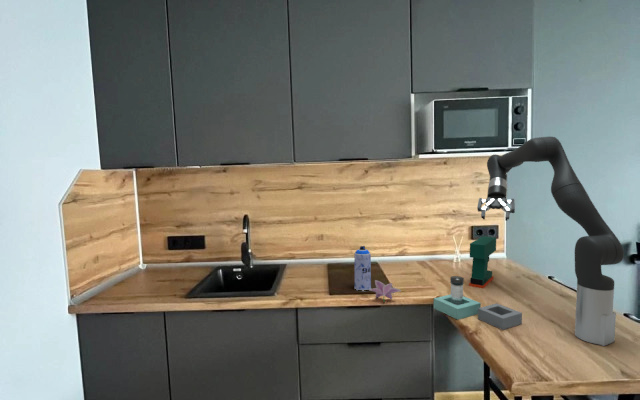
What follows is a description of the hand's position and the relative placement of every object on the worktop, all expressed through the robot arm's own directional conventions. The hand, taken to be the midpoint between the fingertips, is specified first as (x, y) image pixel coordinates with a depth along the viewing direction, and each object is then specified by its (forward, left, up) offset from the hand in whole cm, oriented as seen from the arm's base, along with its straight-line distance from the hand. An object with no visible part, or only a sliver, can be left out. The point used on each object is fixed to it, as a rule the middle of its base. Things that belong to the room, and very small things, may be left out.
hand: (494, 218), depth 145 cm
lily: (+18, +44, -34) cm, 58 cm away
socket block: (-17, +19, -34) cm, 42 cm away
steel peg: (-3, +25, -34) cm, 42 cm away
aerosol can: (+36, +43, -34) cm, 65 cm away
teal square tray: (-3, +25, -34) cm, 42 cm away
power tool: (+19, -18, -34) cm, 43 cm away
